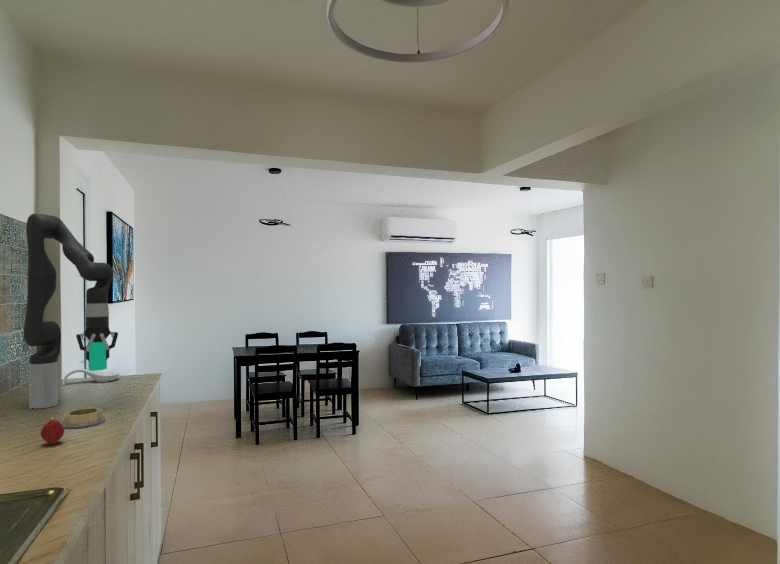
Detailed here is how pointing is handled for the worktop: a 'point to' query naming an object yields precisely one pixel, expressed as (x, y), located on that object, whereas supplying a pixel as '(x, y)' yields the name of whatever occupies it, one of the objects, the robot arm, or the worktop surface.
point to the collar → (82, 416)
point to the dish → (83, 424)
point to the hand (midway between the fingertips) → (97, 360)
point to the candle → (97, 356)
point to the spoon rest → (94, 375)
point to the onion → (52, 431)
